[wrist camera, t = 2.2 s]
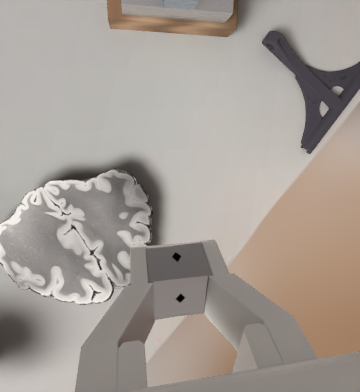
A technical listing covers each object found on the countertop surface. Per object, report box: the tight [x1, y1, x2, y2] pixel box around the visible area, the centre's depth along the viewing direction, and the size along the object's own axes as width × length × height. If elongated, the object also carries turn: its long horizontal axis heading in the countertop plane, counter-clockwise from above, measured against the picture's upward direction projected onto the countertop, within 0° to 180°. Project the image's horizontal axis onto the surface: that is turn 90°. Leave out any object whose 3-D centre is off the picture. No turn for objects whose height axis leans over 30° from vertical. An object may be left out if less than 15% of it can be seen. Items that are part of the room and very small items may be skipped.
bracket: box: [262, 31, 360, 154], centre depth 36 cm, size 14×15×3 cm
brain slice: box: [0, 169, 153, 305], centre depth 36 cm, size 20×17×3 cm
